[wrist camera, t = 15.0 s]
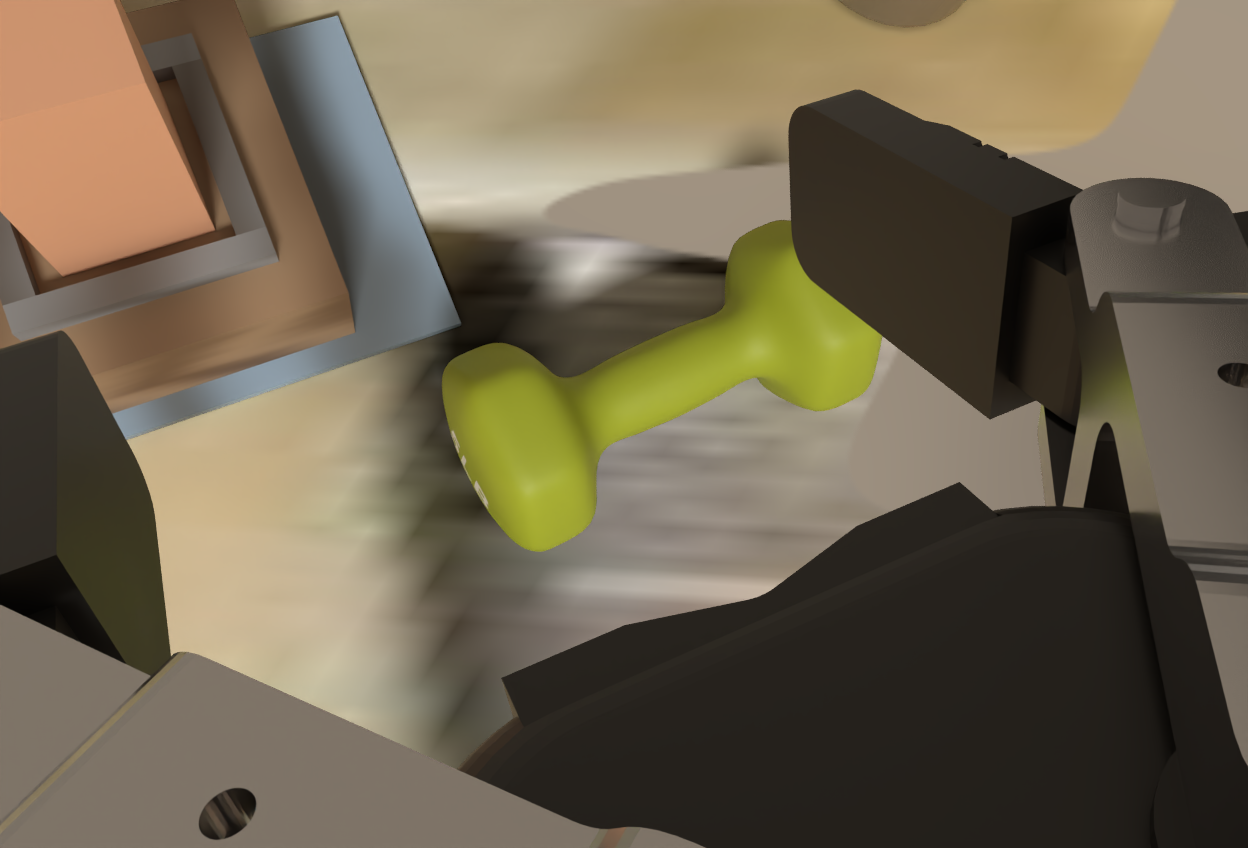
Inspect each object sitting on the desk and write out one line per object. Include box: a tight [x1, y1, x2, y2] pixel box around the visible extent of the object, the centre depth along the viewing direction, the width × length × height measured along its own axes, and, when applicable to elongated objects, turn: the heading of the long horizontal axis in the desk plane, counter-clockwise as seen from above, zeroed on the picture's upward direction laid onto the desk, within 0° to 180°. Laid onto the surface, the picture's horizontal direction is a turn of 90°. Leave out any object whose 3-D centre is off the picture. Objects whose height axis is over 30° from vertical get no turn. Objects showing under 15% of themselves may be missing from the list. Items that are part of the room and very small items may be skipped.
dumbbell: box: [442, 220, 882, 552], centre depth 40 cm, size 16×8×7 cm, turn 116°
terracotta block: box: [0, 0, 216, 277], centre depth 31 cm, size 5×5×10 cm
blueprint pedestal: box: [0, 0, 461, 440], centre depth 38 cm, size 20×14×6 cm
